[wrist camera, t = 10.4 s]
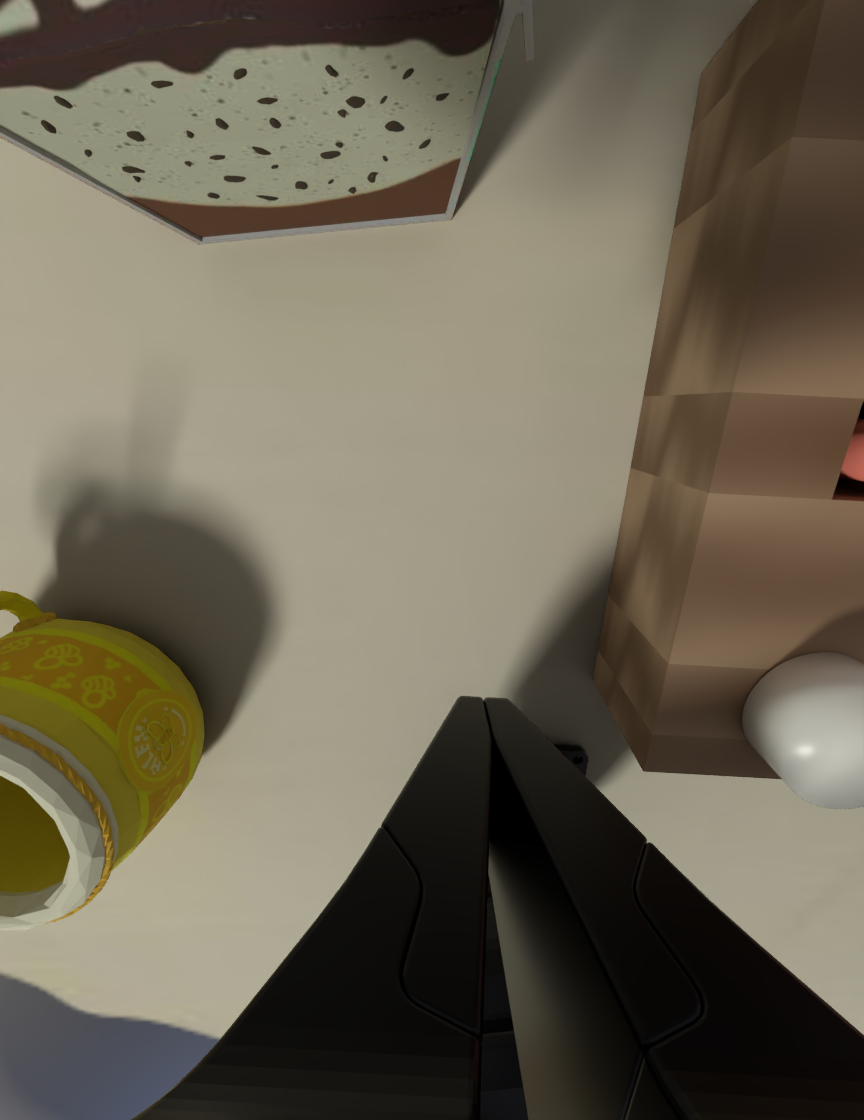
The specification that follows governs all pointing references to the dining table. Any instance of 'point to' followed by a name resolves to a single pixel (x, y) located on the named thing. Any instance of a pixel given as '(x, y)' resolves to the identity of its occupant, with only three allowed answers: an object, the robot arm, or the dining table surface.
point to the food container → (257, 105)
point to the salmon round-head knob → (855, 455)
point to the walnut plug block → (748, 401)
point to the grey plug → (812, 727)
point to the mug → (83, 756)
